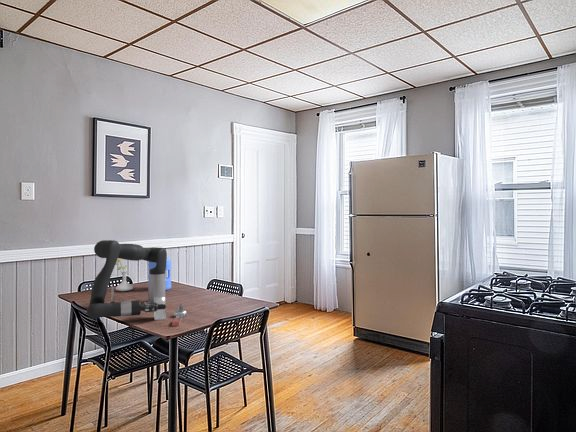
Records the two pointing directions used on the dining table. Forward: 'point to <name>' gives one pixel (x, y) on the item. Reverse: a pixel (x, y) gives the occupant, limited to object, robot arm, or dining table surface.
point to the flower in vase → (124, 284)
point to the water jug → (168, 267)
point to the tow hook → (112, 294)
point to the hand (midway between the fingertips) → (164, 305)
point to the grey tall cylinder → (162, 312)
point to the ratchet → (179, 315)
